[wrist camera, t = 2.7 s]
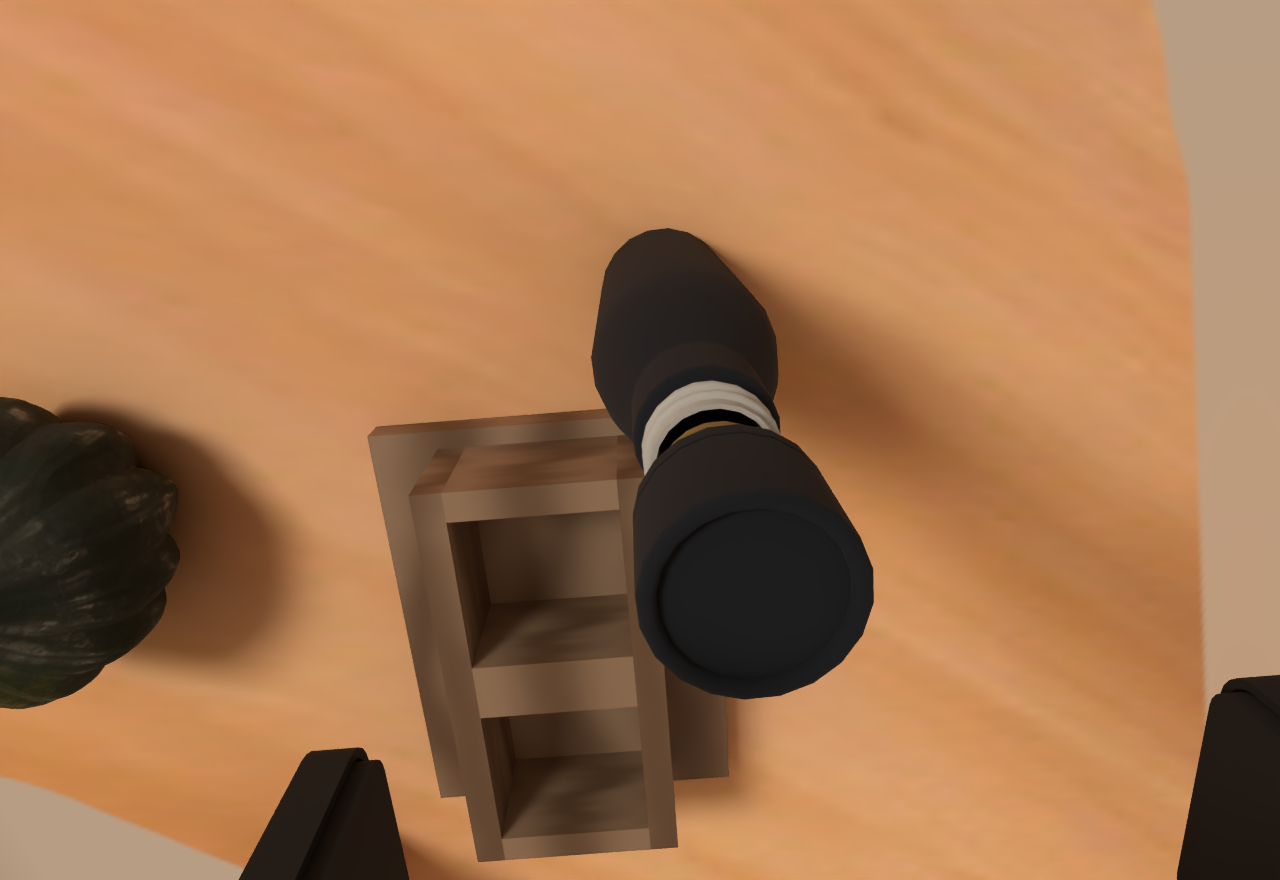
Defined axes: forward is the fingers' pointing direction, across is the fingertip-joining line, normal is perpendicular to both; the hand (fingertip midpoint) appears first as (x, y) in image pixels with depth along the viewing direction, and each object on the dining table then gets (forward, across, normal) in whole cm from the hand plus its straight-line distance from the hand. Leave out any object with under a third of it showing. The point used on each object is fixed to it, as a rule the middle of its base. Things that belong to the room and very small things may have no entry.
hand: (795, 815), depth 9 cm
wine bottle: (+34, 0, -1) cm, 34 cm away
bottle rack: (+34, +7, +17) cm, 39 cm away
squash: (+34, +33, +8) cm, 48 cm away
